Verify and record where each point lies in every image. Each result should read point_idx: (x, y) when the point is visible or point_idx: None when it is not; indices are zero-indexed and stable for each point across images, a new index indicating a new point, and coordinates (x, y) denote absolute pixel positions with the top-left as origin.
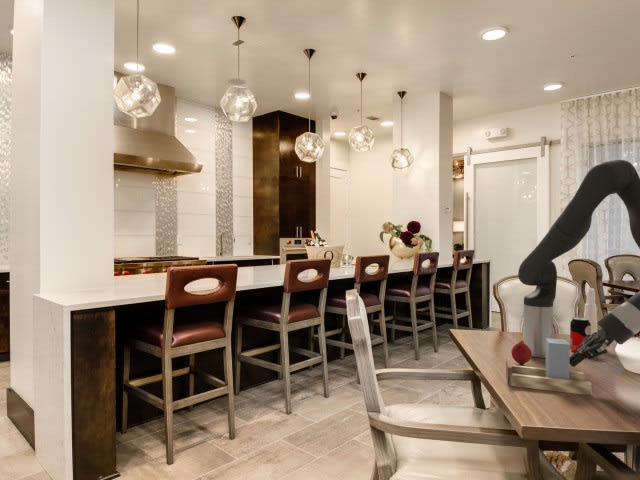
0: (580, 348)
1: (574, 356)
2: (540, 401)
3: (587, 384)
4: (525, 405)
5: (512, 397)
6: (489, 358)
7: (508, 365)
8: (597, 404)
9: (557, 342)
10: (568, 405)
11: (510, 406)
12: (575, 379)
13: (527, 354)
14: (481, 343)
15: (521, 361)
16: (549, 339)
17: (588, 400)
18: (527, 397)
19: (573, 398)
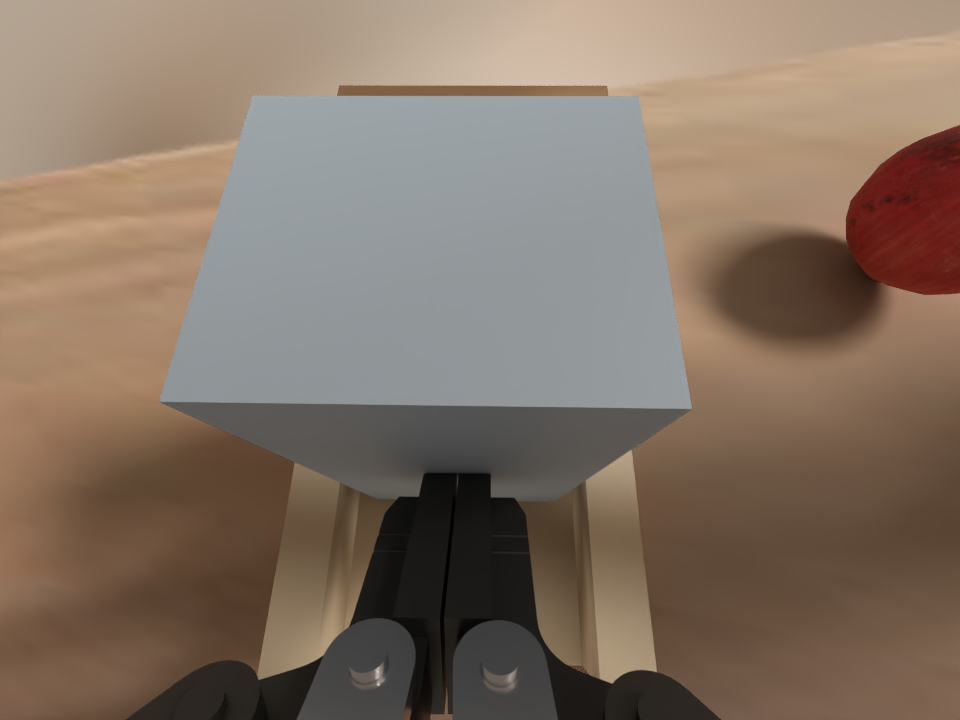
0: (474, 705)
1: (406, 551)
2: (133, 304)
3: (267, 635)
4: (68, 234)
5: (180, 192)
6: (896, 121)
7: (384, 89)
8: (104, 648)
9: (313, 210)
10: (76, 441)
11: (52, 179)
12: (581, 590)
13: (908, 241)
14: None
15: (850, 246)
16: (541, 129)
17: (184, 599)
18: (190, 252)
19: (211, 498)
